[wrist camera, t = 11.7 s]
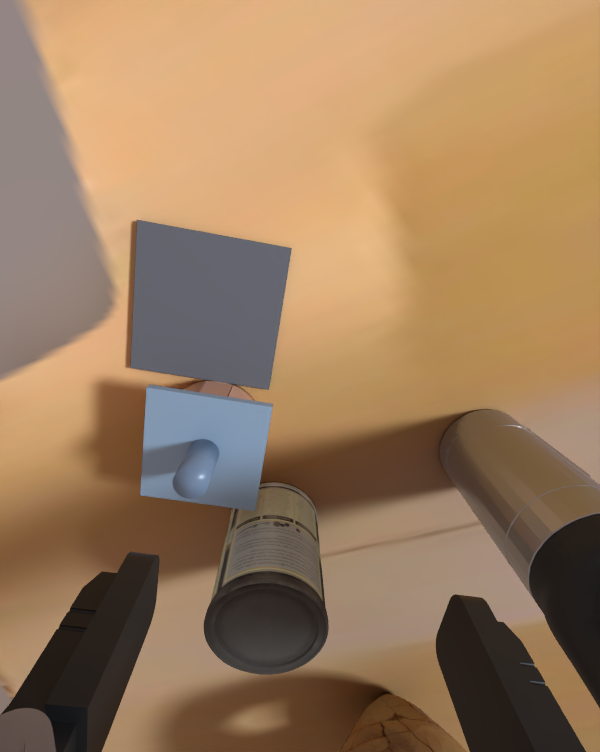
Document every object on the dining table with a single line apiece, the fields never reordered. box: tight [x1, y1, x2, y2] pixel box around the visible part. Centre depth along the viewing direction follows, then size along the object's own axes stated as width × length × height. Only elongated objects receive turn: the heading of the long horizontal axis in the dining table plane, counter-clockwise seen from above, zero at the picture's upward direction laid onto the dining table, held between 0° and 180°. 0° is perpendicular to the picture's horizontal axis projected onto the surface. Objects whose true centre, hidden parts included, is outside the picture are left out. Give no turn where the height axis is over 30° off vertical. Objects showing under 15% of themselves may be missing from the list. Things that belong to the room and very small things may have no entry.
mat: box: [131, 220, 292, 390], centre depth 38 cm, size 14×14×1 cm
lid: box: [140, 385, 273, 511], centre depth 34 cm, size 11×11×6 cm
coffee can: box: [204, 482, 328, 675], centre depth 39 cm, size 10×10×14 cm
